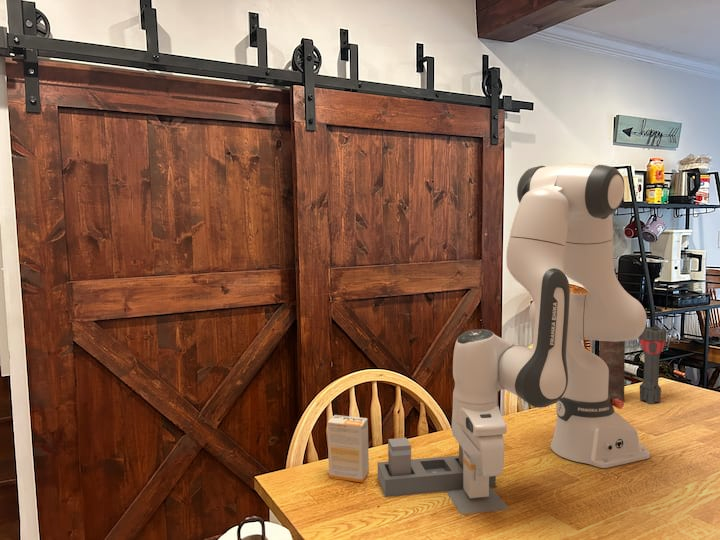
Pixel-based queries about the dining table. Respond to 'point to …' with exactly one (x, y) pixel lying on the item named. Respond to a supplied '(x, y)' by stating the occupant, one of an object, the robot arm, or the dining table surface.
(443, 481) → the strip
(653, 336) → the flashlight
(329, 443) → the supplement box
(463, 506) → the mat
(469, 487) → the plug
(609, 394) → the brown tall block
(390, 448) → the twin plug
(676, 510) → the dining table surface
